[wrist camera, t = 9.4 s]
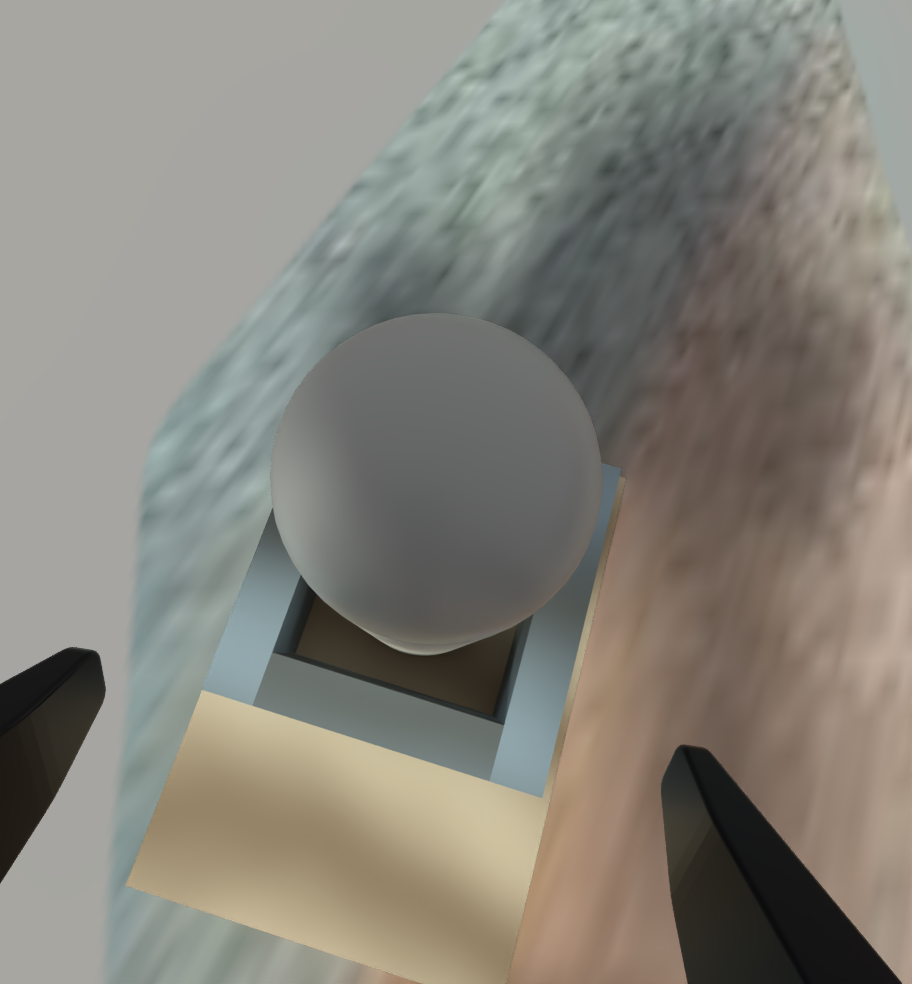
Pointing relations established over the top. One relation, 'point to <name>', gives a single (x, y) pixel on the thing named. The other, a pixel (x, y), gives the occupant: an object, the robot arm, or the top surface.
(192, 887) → the jig
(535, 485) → the cylinder
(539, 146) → the top surface
